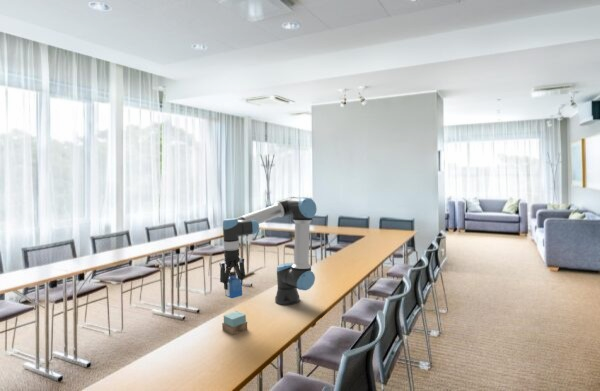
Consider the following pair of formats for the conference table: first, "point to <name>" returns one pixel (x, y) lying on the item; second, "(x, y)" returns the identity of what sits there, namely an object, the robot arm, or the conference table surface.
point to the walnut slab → (234, 328)
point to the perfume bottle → (234, 286)
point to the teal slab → (234, 319)
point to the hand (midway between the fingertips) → (233, 293)
